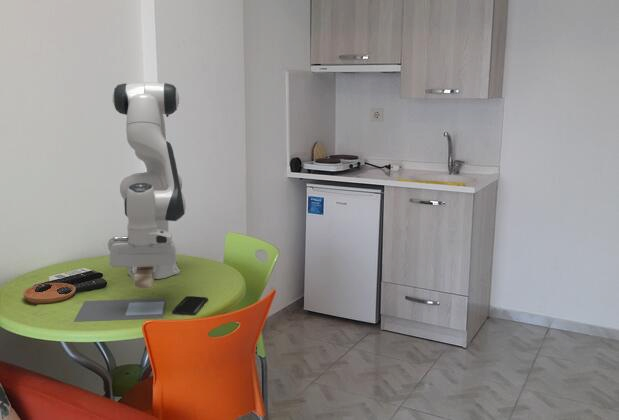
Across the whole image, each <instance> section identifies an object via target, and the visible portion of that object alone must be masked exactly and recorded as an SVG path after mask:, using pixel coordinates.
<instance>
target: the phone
mask: <svg viewBox="0 0 619 420" xmlns="http://www.w3.org/2000/svg"><path fill="white" fill-rule="evenodd" d="M208 301H209V298H208V297H207V296H194V295H193V296H190V295H188V296H185V297H184V298H182V300H181V301H180V302H179V303H178V304H177V305H176V306H175V307H174V308H173V309H172V311H171V314H172V315H177V316H178V315H179V316H191V317H192V316H193V317H194V316H196V315H197V314H198V313H199V312H200V311H201V309H202V308H203V307H204V306H205V305H206V304H207V302H208ZM205 303H206V304H205ZM204 304H205V305H204Z"/></svg>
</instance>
